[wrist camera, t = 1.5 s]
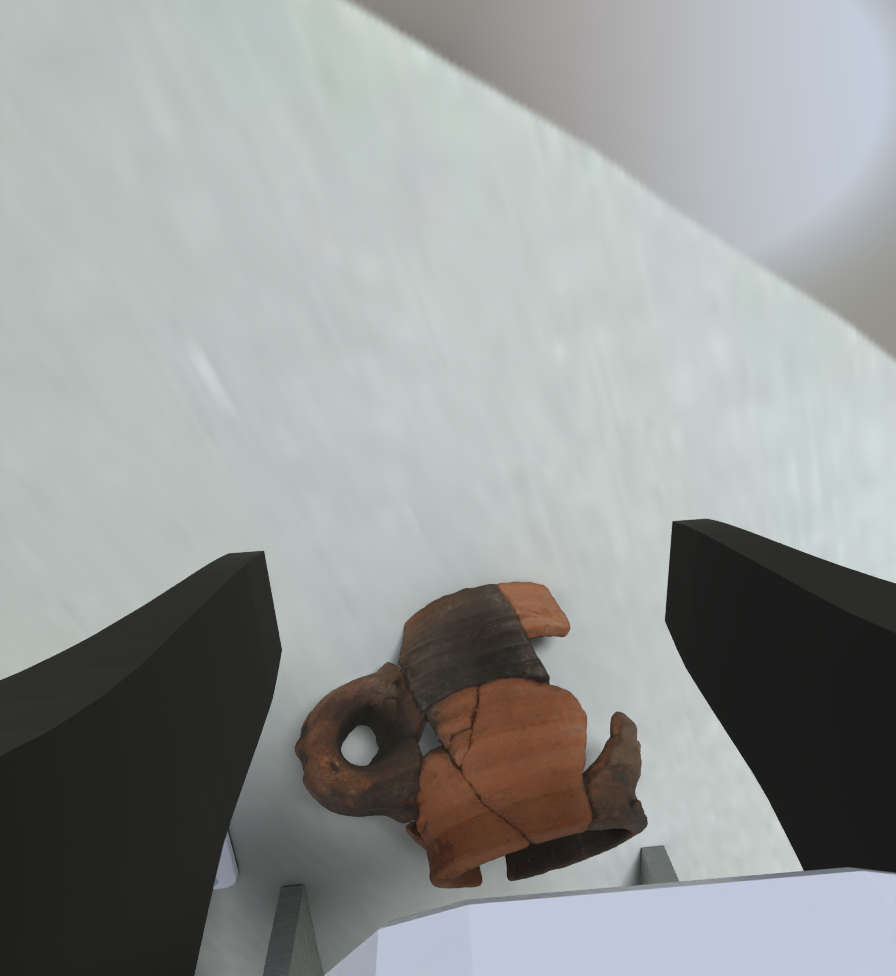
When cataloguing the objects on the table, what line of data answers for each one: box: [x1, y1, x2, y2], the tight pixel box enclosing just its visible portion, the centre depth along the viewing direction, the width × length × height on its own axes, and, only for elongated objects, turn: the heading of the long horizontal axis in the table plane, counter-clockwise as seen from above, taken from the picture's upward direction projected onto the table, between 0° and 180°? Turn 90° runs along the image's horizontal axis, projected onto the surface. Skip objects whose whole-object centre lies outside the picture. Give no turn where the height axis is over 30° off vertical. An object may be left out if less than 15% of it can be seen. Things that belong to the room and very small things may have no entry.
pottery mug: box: [295, 582, 648, 888], centre depth 23 cm, size 12×10×8 cm
